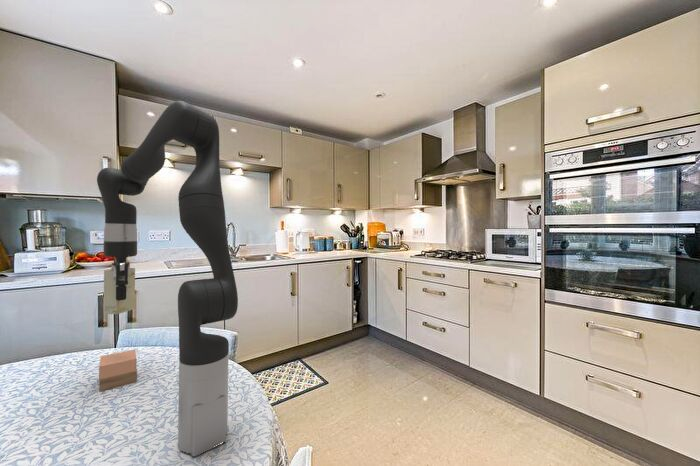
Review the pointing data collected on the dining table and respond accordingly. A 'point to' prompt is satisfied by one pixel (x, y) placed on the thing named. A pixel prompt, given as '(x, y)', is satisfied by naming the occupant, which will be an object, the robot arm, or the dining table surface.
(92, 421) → the dining table surface
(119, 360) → the terracotta slab
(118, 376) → the walnut slab
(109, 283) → the skincare box
